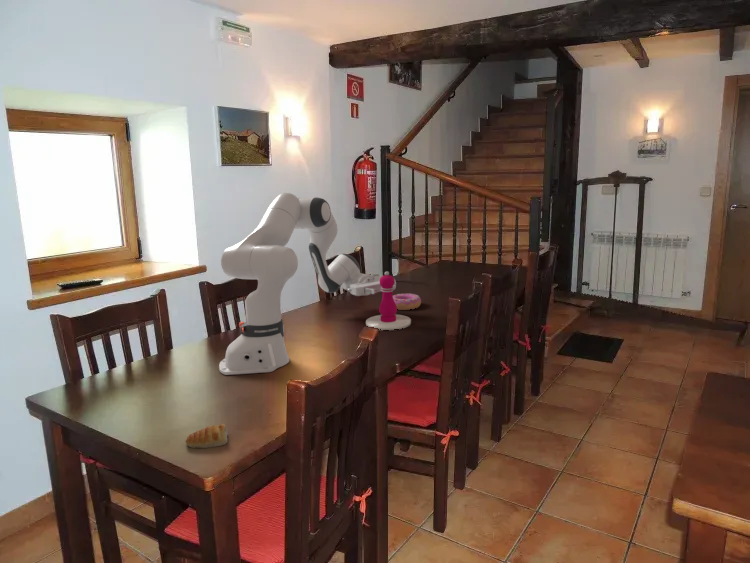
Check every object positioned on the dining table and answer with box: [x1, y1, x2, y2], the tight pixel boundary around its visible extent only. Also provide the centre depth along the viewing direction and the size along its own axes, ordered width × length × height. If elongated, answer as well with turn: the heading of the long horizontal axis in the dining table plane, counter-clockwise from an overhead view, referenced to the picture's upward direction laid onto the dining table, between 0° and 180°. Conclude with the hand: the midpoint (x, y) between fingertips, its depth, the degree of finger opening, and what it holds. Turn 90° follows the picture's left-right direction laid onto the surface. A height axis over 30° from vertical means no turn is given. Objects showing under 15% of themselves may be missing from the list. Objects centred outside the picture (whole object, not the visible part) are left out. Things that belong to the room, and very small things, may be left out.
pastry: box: [185, 423, 228, 449], centre depth 125 cm, size 9×7×4 cm
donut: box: [393, 293, 422, 311], centre depth 240 cm, size 14×14×5 cm
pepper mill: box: [378, 270, 398, 322], centre depth 212 cm, size 7×7×20 cm
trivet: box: [365, 313, 412, 331], centre depth 214 cm, size 18×18×2 cm
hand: (384, 289), depth 213 cm, fingers open, 8 cm apart
